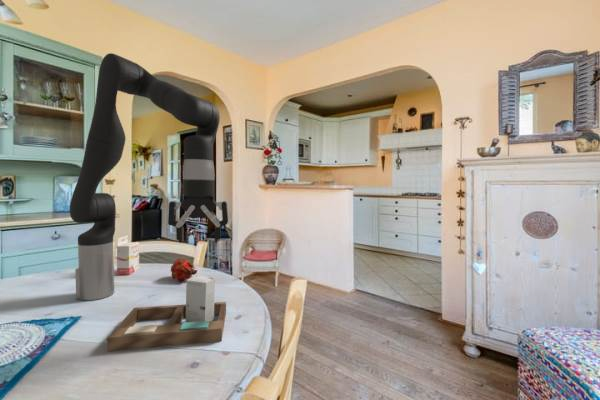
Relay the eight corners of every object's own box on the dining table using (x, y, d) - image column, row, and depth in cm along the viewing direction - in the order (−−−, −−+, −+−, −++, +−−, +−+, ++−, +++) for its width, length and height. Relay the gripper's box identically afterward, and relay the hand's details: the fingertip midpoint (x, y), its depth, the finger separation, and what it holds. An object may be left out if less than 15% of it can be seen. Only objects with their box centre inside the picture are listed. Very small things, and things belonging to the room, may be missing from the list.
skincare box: (184, 326, 72) (184, 280, 72) (196, 318, 77) (195, 274, 76) (205, 330, 70) (205, 282, 70) (215, 322, 75) (215, 277, 74)
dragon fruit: (178, 278, 114) (190, 291, 105) (160, 270, 108) (171, 282, 100) (191, 260, 116) (204, 271, 107) (175, 251, 110) (187, 261, 102)
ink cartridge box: (129, 275, 112) (129, 238, 112) (116, 275, 112) (115, 238, 111) (140, 268, 121) (139, 234, 120) (128, 269, 120) (127, 234, 120)
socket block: (107, 351, 61) (107, 335, 61) (134, 318, 76) (134, 306, 76) (221, 340, 66) (221, 326, 66) (226, 312, 81) (226, 300, 80)
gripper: (164, 177, 66) (165, 245, 67) (226, 178, 69) (226, 244, 70) (172, 178, 74) (173, 239, 75) (228, 179, 76) (228, 238, 77)
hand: (199, 241), depth 72 cm, fingers open, 8 cm apart
